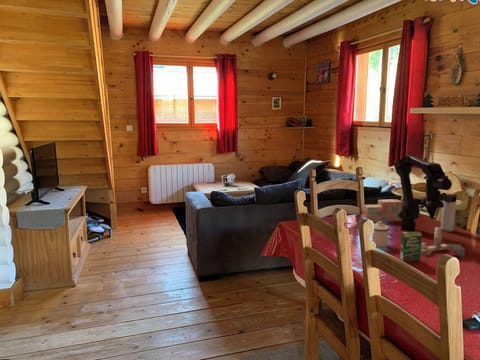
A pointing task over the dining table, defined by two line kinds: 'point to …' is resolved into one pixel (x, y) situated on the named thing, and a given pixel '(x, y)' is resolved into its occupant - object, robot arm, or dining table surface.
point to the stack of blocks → (383, 211)
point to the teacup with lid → (380, 234)
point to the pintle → (424, 248)
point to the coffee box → (410, 246)
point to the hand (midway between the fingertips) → (432, 218)
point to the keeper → (457, 249)
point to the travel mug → (448, 214)
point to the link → (435, 242)
